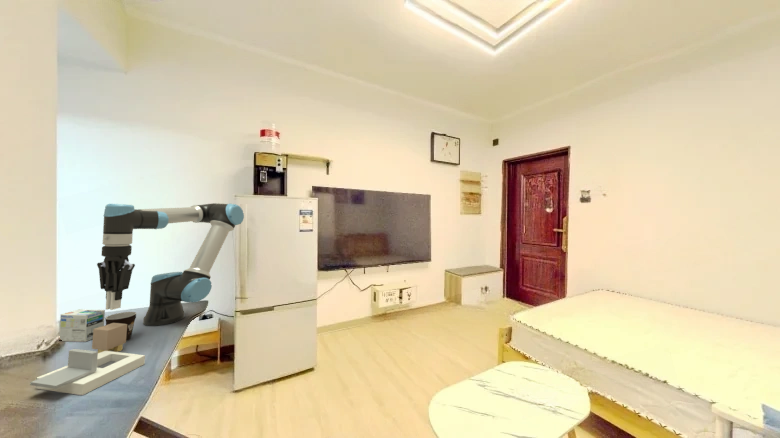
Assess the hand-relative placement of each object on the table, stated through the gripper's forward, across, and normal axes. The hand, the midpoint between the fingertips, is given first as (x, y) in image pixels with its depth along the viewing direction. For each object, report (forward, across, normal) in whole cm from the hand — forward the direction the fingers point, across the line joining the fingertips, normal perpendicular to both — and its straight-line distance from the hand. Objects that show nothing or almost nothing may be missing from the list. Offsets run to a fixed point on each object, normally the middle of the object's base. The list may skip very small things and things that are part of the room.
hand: (113, 308), depth 93 cm
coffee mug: (+17, -7, +10) cm, 21 cm away
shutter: (+13, +11, -19) cm, 26 cm away
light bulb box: (+17, -23, +7) cm, 29 cm away
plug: (+16, 0, 0) cm, 16 cm away
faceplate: (+16, +12, -12) cm, 23 cm away
